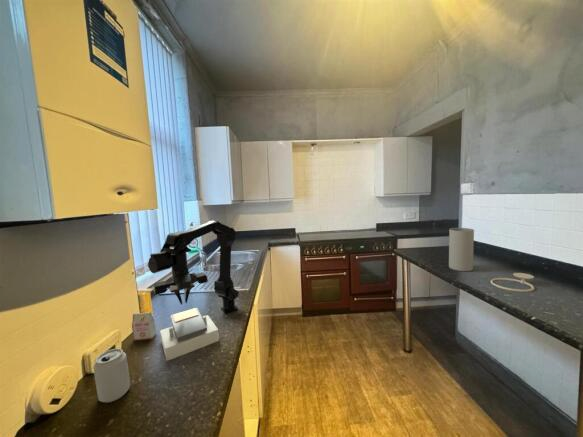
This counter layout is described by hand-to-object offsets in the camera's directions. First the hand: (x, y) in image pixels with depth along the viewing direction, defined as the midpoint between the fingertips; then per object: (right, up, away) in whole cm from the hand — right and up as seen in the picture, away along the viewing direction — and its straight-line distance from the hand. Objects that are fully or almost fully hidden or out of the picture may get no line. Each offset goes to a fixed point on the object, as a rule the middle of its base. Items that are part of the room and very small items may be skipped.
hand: (183, 303), depth 96 cm
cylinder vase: (+149, +2, +58) cm, 160 cm away
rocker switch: (+3, -6, -4) cm, 8 cm away
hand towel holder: (+158, -1, +31) cm, 161 cm away
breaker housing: (+4, -13, -3) cm, 14 cm away
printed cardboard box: (-16, -14, +2) cm, 22 cm away
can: (-8, -17, -26) cm, 32 cm away
